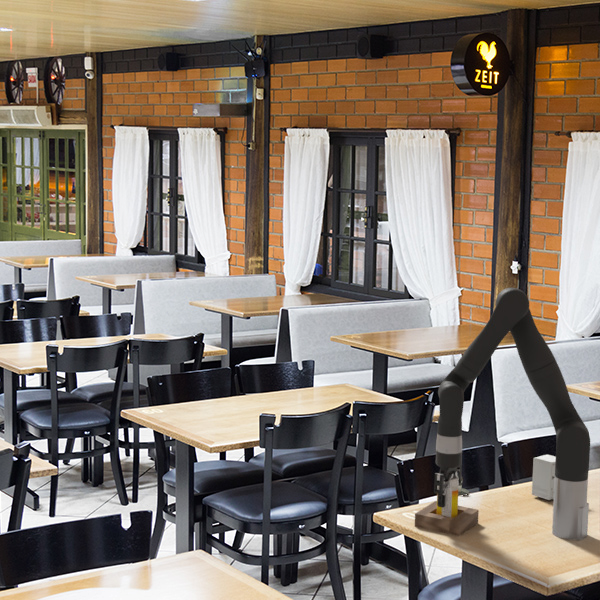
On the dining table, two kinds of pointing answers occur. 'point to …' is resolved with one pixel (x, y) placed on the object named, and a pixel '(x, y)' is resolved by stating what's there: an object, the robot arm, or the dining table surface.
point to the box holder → (446, 520)
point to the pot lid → (462, 489)
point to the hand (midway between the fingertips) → (447, 503)
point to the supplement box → (543, 476)
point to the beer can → (450, 500)
